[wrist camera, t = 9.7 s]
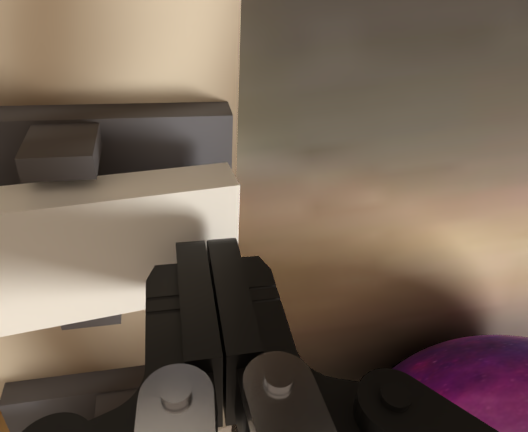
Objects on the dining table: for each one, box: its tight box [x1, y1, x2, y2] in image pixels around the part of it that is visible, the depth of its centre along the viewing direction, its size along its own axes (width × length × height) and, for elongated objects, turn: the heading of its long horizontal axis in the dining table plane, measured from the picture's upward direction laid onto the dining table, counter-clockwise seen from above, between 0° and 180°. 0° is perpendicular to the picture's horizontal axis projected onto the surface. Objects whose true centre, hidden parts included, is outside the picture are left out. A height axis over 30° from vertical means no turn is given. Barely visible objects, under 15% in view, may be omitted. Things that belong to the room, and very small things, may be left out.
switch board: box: [0, 0, 241, 432], centre depth 13 cm, size 11×33×4 cm, turn 177°
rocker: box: [0, 162, 240, 337], centre depth 12 cm, size 8×4×1 cm, turn 87°
